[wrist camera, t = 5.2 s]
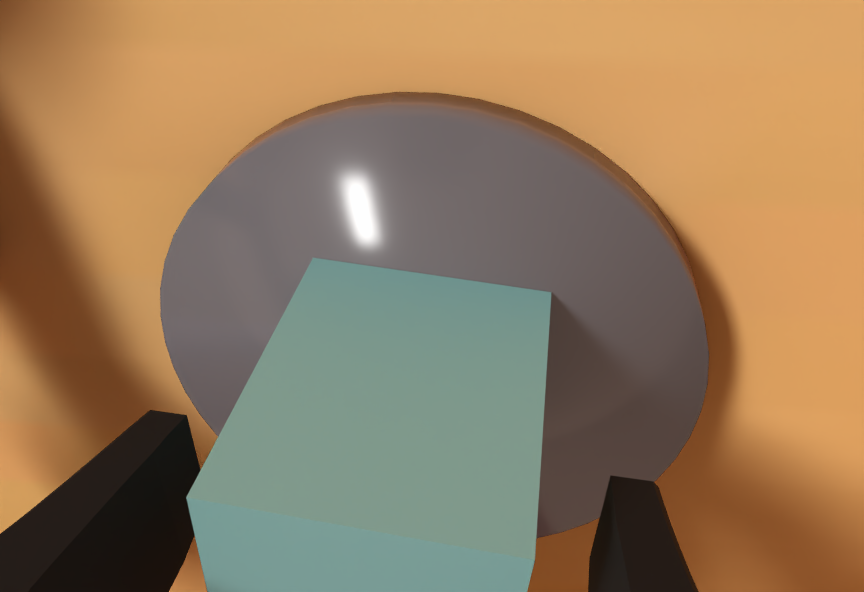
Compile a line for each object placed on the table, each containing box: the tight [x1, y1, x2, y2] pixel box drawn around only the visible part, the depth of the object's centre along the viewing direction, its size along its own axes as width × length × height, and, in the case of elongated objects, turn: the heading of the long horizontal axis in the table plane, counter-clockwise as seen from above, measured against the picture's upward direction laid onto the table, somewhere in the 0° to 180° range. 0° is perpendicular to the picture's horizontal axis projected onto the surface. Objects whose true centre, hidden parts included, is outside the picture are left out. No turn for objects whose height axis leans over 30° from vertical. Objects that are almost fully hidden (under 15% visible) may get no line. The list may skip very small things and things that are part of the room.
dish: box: [160, 92, 709, 538], centre depth 14 cm, size 10×10×1 cm
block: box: [186, 258, 551, 592], centre depth 11 cm, size 4×4×5 cm
